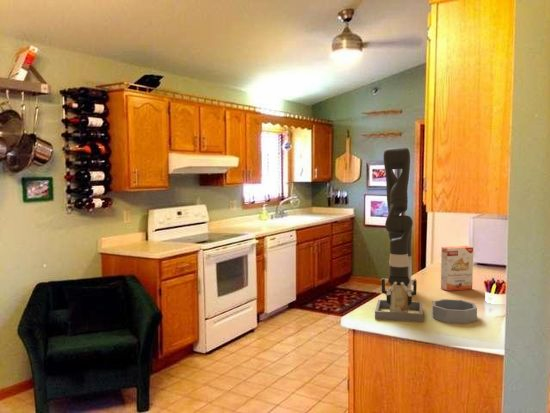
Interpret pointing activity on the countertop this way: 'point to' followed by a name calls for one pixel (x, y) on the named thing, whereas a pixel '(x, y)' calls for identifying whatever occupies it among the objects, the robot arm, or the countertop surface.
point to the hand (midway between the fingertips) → (399, 304)
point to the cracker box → (456, 268)
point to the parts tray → (399, 315)
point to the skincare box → (398, 299)
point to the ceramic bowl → (454, 311)
